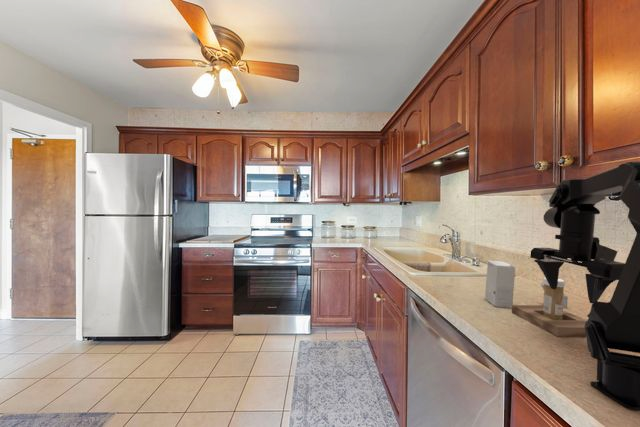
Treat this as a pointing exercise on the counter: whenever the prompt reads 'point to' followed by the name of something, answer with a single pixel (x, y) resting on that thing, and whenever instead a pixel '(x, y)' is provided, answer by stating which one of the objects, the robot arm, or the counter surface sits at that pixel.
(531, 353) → the counter surface
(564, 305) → the lighter
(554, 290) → the sprinkles bottle
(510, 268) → the skincare box
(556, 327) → the brown wooden tray
